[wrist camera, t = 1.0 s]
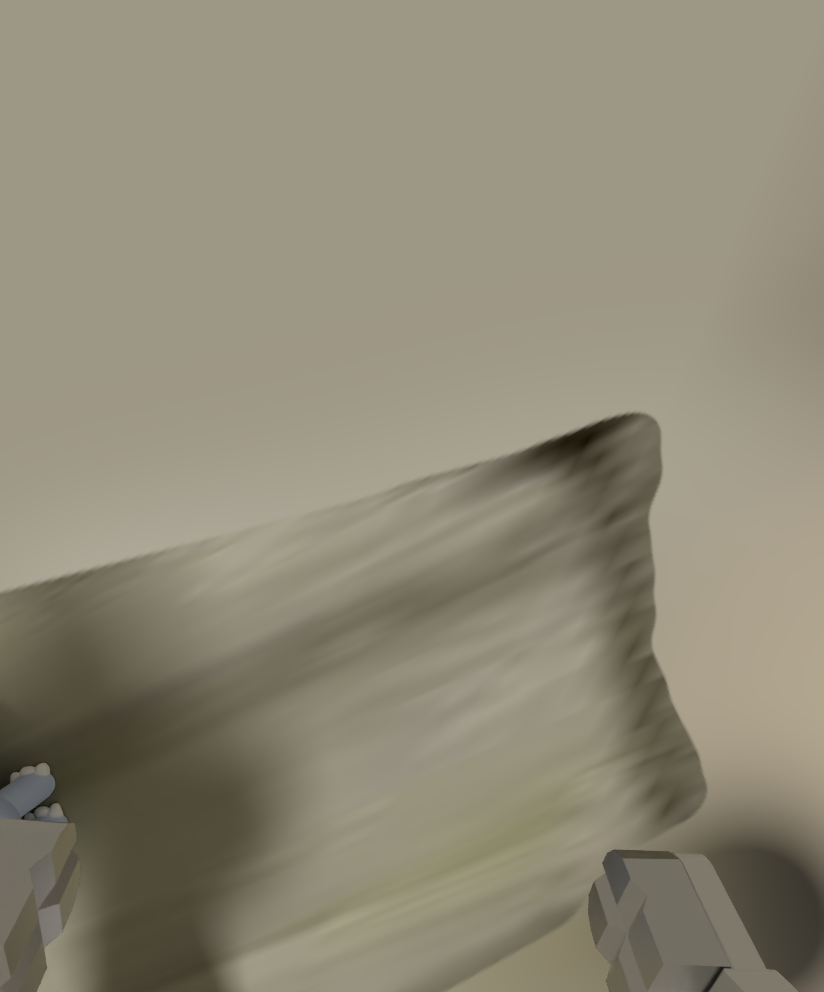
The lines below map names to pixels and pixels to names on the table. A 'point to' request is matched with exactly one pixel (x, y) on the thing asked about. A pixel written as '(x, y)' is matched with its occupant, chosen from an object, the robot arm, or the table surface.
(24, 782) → the hippopotamus toy
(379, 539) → the table surface
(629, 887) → the robot arm
